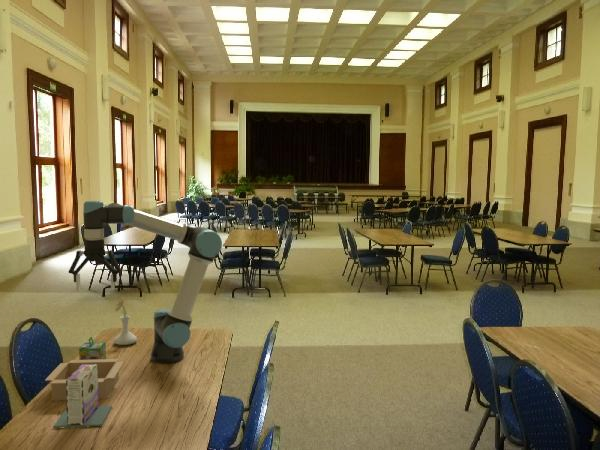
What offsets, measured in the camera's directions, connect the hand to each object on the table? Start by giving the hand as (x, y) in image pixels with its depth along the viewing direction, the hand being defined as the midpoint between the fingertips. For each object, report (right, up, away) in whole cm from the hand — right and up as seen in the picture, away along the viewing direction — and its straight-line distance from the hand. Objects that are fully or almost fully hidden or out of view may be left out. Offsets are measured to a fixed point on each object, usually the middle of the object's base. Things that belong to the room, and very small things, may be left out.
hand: (95, 289), depth 209 cm
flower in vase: (-5, -34, +49) cm, 59 cm away
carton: (-2, -39, -5) cm, 40 cm away
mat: (+7, -42, -28) cm, 51 cm away
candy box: (+7, -41, -28) cm, 50 cm away
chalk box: (-7, -38, +14) cm, 41 cm away
